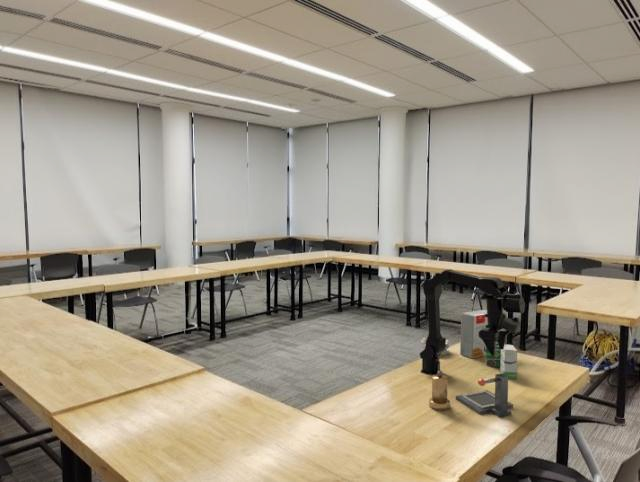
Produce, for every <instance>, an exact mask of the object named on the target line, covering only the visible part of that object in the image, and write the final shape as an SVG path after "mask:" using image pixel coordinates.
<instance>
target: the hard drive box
mask: <svg viewBox="0 0 640 482" xmlns="http://www.w3.org/2000/svg"><path fill="white" fill-rule="evenodd" d="M485 314H487V309H479V310H474V311H467V312H466V311H465V312H461V315H460V318H461V319H460V322H461V323H460V343H459V345H460V348H459V354H460V355H463V356H465V357H467V358H470V359H474V358H480V357H484V356H485V357H486V345H485V343H484V342H483V340H482V339H481V338H479V333H478V332H479V331H480V330H482V329H484V328H486V325H487V324H488V321H487V317H485ZM488 329H489V328H488Z"/></svg>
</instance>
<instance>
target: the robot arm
mask: <svg viewBox="0 0 640 482" xmlns="http://www.w3.org/2000/svg"><path fill="white" fill-rule="evenodd" d="M449 281H451V282H455V283H459V284H463V285H466V286H470V287H473V288H476V289H478V290H479V291H481V292H483V295H482V296H481V297H480V300H485V303H486V310H487V314H485V317H487V321H488V324H487V325H486V328H484V329H482V330H480V331H479V332H478V333H479V338H481V339H482V340H483V342H484V343H485V345H486V347H487V348H488V350H489V352H490V354H491V355H494V354H495V342H496V341H498V344H499V347H500V349H504V345H505V340H506V341H507V336H508V335H509V334H510V333H511V334H516V333H517V332H519V331H520V327H521V320H520V317H517V316H514V317H513V318H511V317H510V318H508V317H507V314H506V313H514V314H515V313H516V314H524V313H525V310H526V309H525V308H526V303H525V299H524V297H523V294H522V293H516V294H513V293H510V291H509V290H508V289H507V287H506V286H505V285H504V282H503V281H502V279H501V278H500V277H496V276H478V275H473V274H469V273H465V272H461V271H455V270H453V269H445V270H443V271H442V272H440V273H438V274H437V275H436V276H433V277H432V278H427V279H426V280H425V281H424V282H423V283H422V289H423V294H424V296H425V298H426V302H427V301H428V302H427V320H428V321H427V322H428V334H427V338H426V345H425V349H424V350H423V349H422V350H421V352H419V356H420V359H421V362H422V363H421V365H422V366H421V370H420V372H421V373H424V374H428V375H432V376H433V375H436V374H438V371H441V361H440V357H441V356H442V355H441V353H442V352H443V351H444V350H445V347H446V343H445V342H446V340H447V338H446V337H443V336H442V334H441V315H440V313H441V311H440V298H441V296H442V293H443V288H444V286H445V285H446V284H447V283H448V282H449ZM504 311H505V312H506V313H505V312H504ZM488 328H489V329H488Z"/></svg>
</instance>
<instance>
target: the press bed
mask: <svg viewBox="0 0 640 482" xmlns="http://www.w3.org/2000/svg"><path fill="white" fill-rule="evenodd" d="M477 383H478V385H479V386H481V387H483V386H485V385H486V384H492V383H494V384H495V385H494V393H493V392H491V391H489V390H487V389H486V390H480V391H476V392H469V393H465V394H458V395H455V400H456V401H458V402H460V403H461V404H463V405H464V406H465V407H467V408H469V409H470V410H472V411H473V412H475V413H477V414H478V415H484V414H485V415H486V414H489V413H491V414H493V415H494V416H495V417H498V418H503V417H510V416H512V411H511V409H513V408H514V404H513V403H511V402H509V400H508V399H509V397H508V396H509V379H508V376H507V375H505V374H502V373H501V372H500V373H495V376H494V378H493V377H492V378H488V379H484V378H480V379H478V380H477Z"/></svg>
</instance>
